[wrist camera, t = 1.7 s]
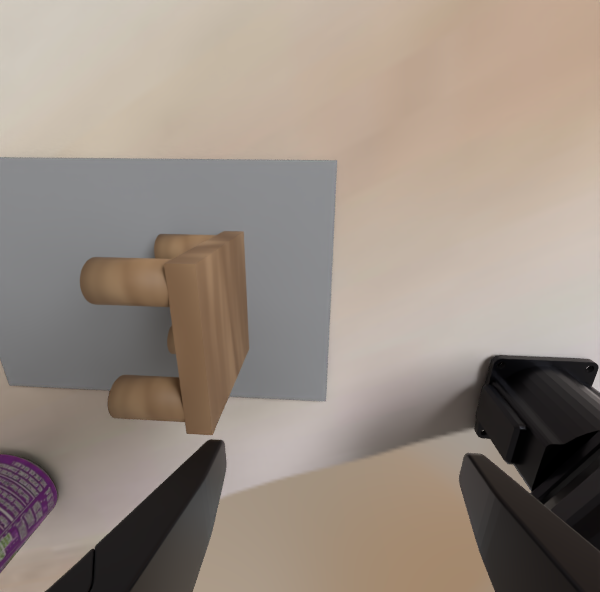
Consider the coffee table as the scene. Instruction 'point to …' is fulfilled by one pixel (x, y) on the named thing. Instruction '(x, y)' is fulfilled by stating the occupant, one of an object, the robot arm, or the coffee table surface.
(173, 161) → the felt mat
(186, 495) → the robot arm
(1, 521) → the beverage can
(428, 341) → the coffee table surface
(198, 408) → the stool
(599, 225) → the coffee table surface
